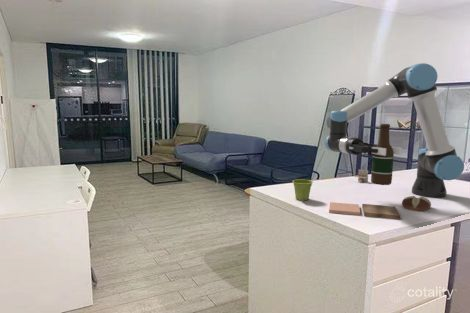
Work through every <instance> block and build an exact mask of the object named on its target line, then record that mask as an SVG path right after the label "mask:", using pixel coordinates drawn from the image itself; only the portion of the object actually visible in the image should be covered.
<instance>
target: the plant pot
mask: <svg viewBox="0 0 470 313" xmlns="http://www.w3.org/2000/svg"><path fill="white" fill-rule="evenodd" d="M292 183H293V186H294V195H295V196H294V197H295V199H296V200H297V201H298V200H299V201H303V202H304V201H308V200H309V198H310V192H311V188H312V186H313V183H314V181H313V180H310V179H304V178H303V179H301V178H300V179H298V178H297V179H293V180H292Z"/></svg>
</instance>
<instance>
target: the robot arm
mask: <svg viewBox="0 0 470 313" xmlns="http://www.w3.org/2000/svg"><path fill="white" fill-rule="evenodd" d="M437 80H438V72H437V70H436V68H435V67H434V66H433V65H432V64H428V63H425V62H423V63H421V62H420V63H417V64H414V65H413V64H412V65H411V66H408V67H405V68H404V69H402V70H400V71H399V72H398V73H396V74H395V75H394V76H393V77H391V78H389V79H387V80H386V82H385V84H383V85H381V86H380V87H378V88H376V89H375V90H373V91H371V92H369V93H368V94H366V95H364V96H362V97H361V98H358V99H357V100H355V101H354V102H352V103H351V104H349V105H347V106H345V107H344V108H342V109H340V110H332V111H331V113H330V115H328V117H327V118H326V121H325V123H326V126H327V128H329V135H328V136H327V137H326V138H325V140H324V147H325V148H326V149H327V150H329V151H331V152H335V153H343V154H345V155H353V156H359V155H361V154H367V156H371V155H373V154H377V155H384V156H386V148H378V147H376V146H377V145H378V143H377V144H376V143H368V142H364V141H363V140H362V139H361V138H359V137H351V136H347V129H348V128H347V124H348V123H350V122H353V121H354V120H355V119H357V118H359V117H360V116H363V115H364V114H366V113H368V112H370V111H372V110H373V109H375V108H376V107H379V106H380V105H382V104H384V103H385V102H387V101H389V100H391V99H393V98H398V97H400V96H402V95H405V94H407V98H408V99H409V100H411V101H413V102H412V103H413V104H414V108H415V110H416V114H417V118H418V121H419V124H420V128H421V131H422V134H423V137H424V141H425V143H426V147H427V148H420V149H419V151H418V154H417V165H416V166H417V168H416V178H415V180H414V182H413V184H412V188H411V193H413V195H414V194H415V195H418V196H420V197H426V198H427V197H428V198H444V197H447V188H446V185H445V181H454V180H455V179H456V180H457V178H459V177H460V176H461V175H462V174H463V172H464V170H465V164H464V163H465V162H464V161H463V159H462V158H461V157H460V156H459V155H457V151H456V149H455V148H456V147H455V146H453V145H451V144H450V142H449V139H448V135H447V132H446V129H445V125H444V122H443V119H442V116H441V112H440V109H439V105H438V102H437V98H436V96H435V94H436V92H437V91H438V89H437V88H438V87H437V85H436V83H437ZM390 146H391V147H392V149H393V152H394V155H398V156H399V155H402V152H403V147H399V146H398V147H397V146H392V145H390Z"/></svg>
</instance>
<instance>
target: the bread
mask: <svg viewBox="0 0 470 313" xmlns="http://www.w3.org/2000/svg"><path fill="white" fill-rule="evenodd" d="M401 201H402V202H401V206H402V207H403V208H405V209H407V210H411V211H412V210H413V211H418V212H426V211H429V209H430V208H431V206H432V202H431V201H430V199H428V198H427V197H425V196H419V197H416V196H414V195H410V196H407V197H404V198H403V199H402V200H401Z"/></svg>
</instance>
